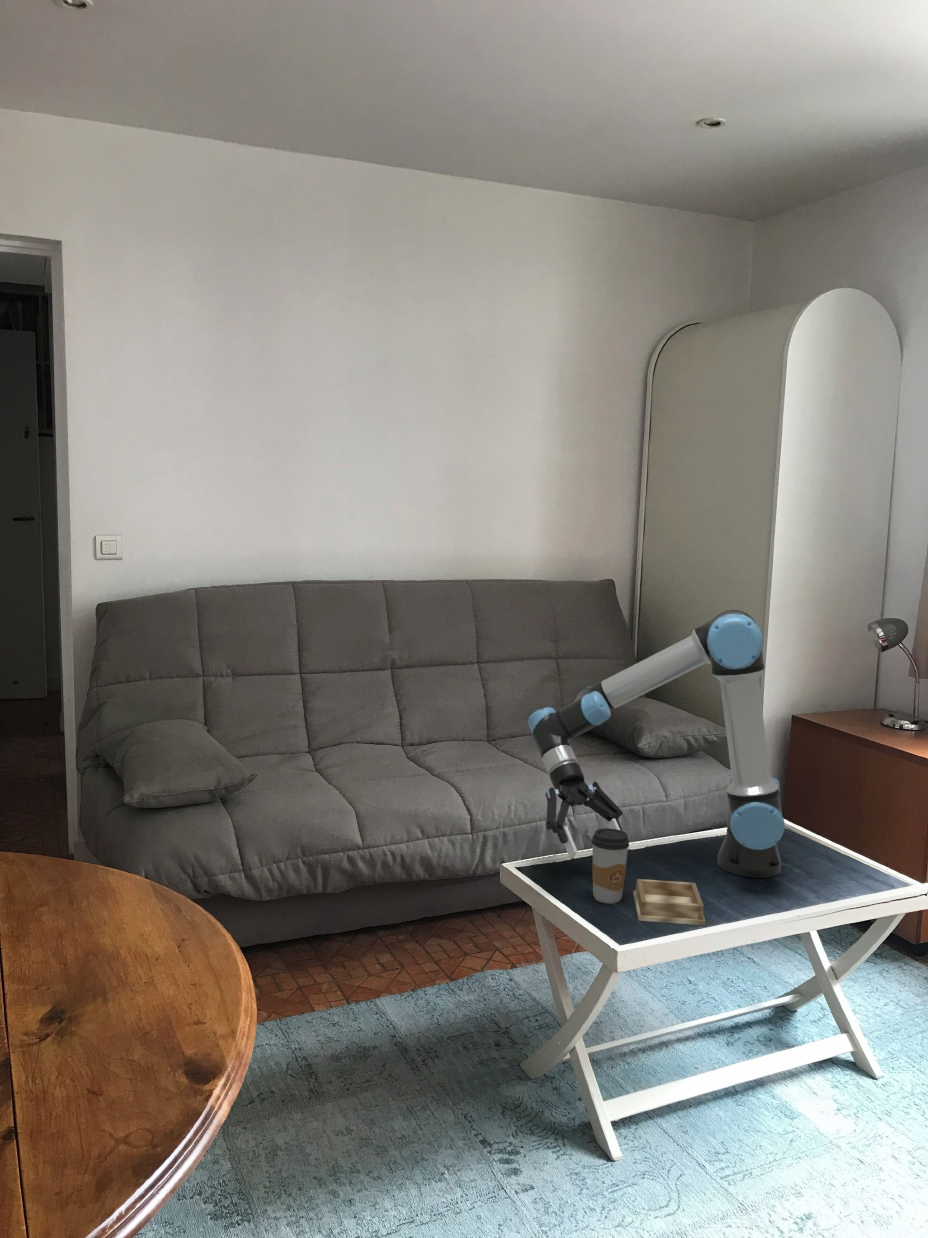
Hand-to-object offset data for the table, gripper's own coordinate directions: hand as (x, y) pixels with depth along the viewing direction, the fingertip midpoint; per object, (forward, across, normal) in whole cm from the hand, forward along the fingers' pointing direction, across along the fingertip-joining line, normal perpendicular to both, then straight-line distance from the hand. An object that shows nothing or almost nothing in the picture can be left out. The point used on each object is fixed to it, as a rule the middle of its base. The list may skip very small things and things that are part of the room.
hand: (598, 851), depth 224 cm
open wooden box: (+17, -9, +3) cm, 19 cm away
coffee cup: (+9, -1, -5) cm, 11 cm away
